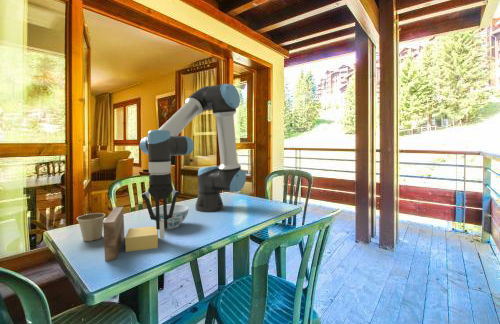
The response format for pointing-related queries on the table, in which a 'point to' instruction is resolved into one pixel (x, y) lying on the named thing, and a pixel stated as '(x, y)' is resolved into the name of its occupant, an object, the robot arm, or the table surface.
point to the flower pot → (91, 226)
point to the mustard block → (141, 238)
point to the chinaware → (174, 215)
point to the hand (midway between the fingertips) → (162, 237)
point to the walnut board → (113, 233)
